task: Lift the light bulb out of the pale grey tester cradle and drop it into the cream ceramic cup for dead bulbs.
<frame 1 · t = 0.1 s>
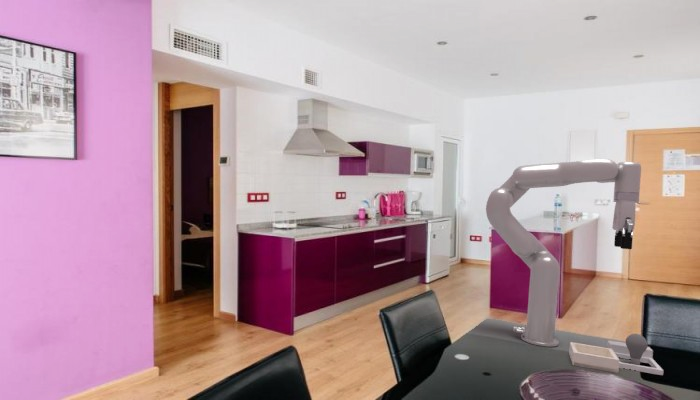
hand: (622, 247, 159), 37 cm above the table, tool pointing down, fingers open, 9 cm apart
tester cradle: (634, 365, 148), on the table
light bulb: (634, 365, 148), resting in tester cradle
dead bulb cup: (592, 363, 147), on the table
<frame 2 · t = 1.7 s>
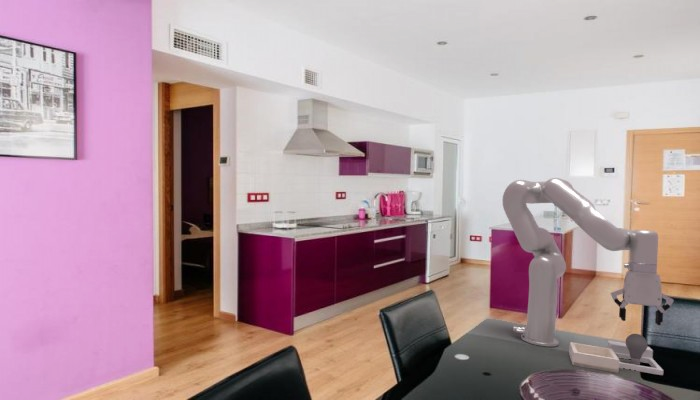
hand: (640, 322, 147), 14 cm above the table, tool pointing down, fingers open, 9 cm apart
nothing on the table moved.
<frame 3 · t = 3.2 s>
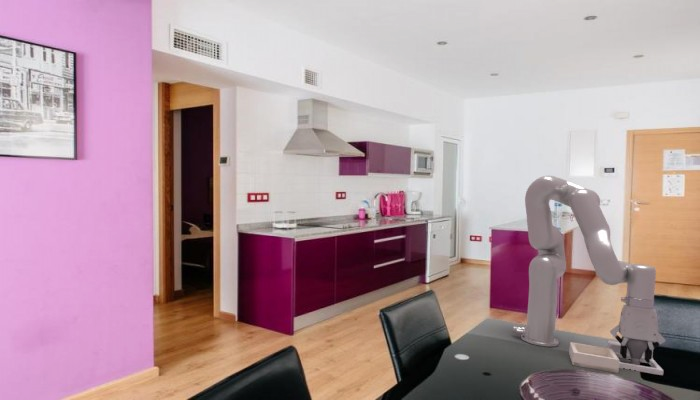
hand: (635, 358, 148), 2 cm above the table, tool pointing down, fingers closed on light bulb, 5 cm apart
light bulb: (634, 365, 148), resting in tester cradle, touching gripper
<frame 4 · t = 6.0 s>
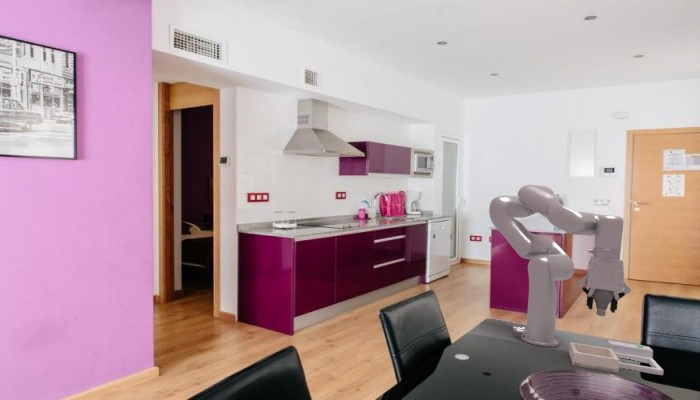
hand: (601, 309, 147), 17 cm above the table, tool pointing down, fingers closed on light bulb, 5 cm apart
light bulb: (600, 316, 147), point 15 cm above the table, touching gripper
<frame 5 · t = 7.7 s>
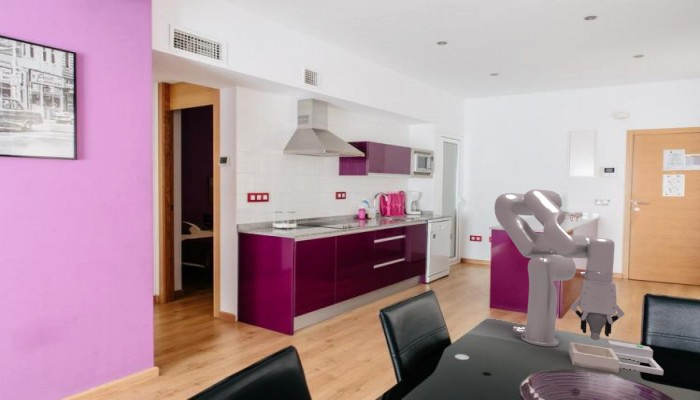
hand: (595, 333, 146), 10 cm above the table, tool pointing down, fingers closed on light bulb, 5 cm apart
light bulb: (594, 340, 146), point 7 cm above the table, touching gripper
when the fingers open (5 cm above the table, at t = 9.1 s): light bulb drops 2 cm, resting on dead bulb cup.
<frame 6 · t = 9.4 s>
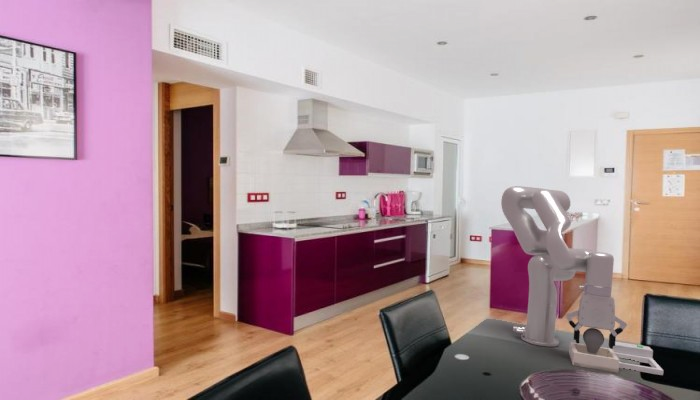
hand: (593, 345, 147), 6 cm above the table, tool pointing down, fingers open, 9 cm apart
light bulb: (591, 360, 147), point 1 cm above the table, touching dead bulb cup
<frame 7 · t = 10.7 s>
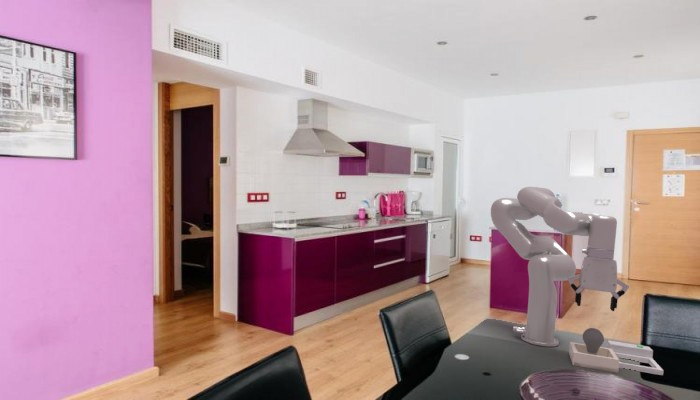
hand: (595, 307, 147), 18 cm above the table, tool pointing down, fingers open, 9 cm apart
nothing on the table moved.
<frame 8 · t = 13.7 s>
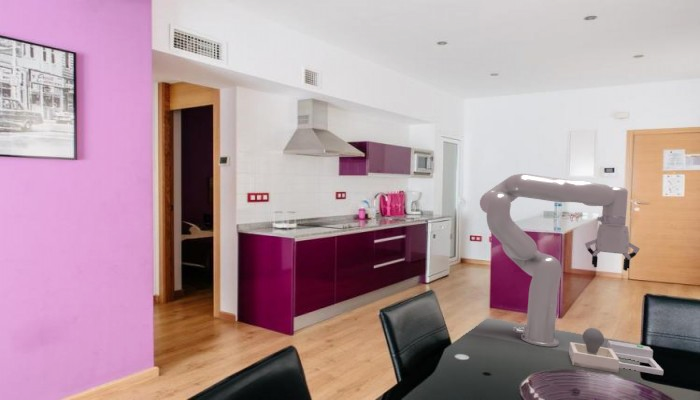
hand: (609, 268, 167), 28 cm above the table, tool pointing down, fingers open, 9 cm apart
nothing on the table moved.
at the end: light bulb inside the target area on the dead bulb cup (0.3 cm from its centre), point 0.8 cm above the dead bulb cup's base; the gripper is holding nothing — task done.
